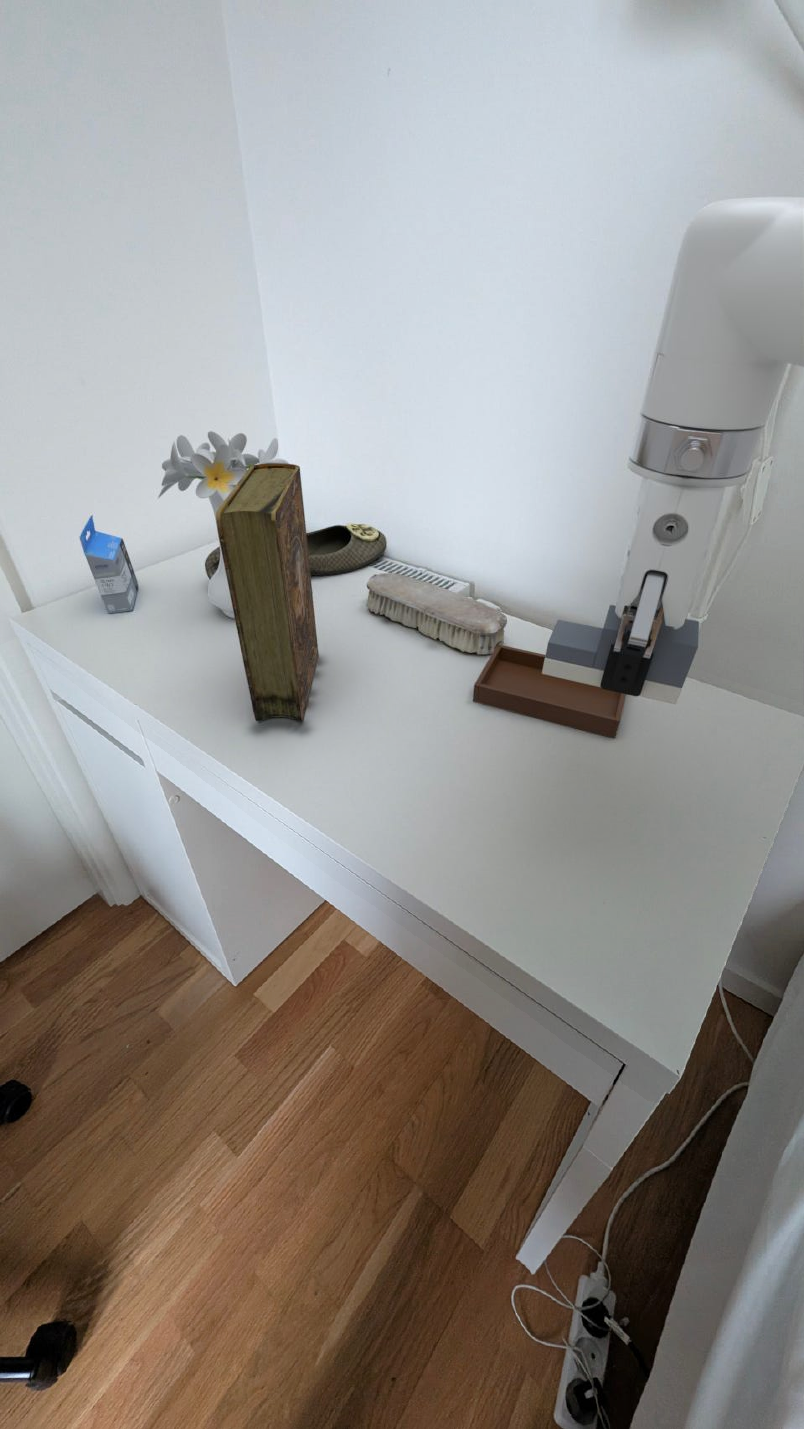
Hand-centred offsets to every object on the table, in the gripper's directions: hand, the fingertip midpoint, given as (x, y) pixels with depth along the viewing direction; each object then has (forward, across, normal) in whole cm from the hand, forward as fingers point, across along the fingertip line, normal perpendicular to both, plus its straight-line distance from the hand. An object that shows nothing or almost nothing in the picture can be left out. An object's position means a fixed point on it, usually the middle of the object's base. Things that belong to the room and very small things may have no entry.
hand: (623, 672), depth 50 cm
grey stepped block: (+1, 0, +1) cm, 1 cm away
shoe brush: (+16, +26, +27) cm, 41 cm away
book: (+16, +5, +38) cm, 42 cm away
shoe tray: (+16, +16, +7) cm, 23 cm away
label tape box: (+16, +15, +75) cm, 78 cm away
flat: (+16, +36, +55) cm, 67 cm away
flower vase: (+16, +20, +56) cm, 61 cm away
